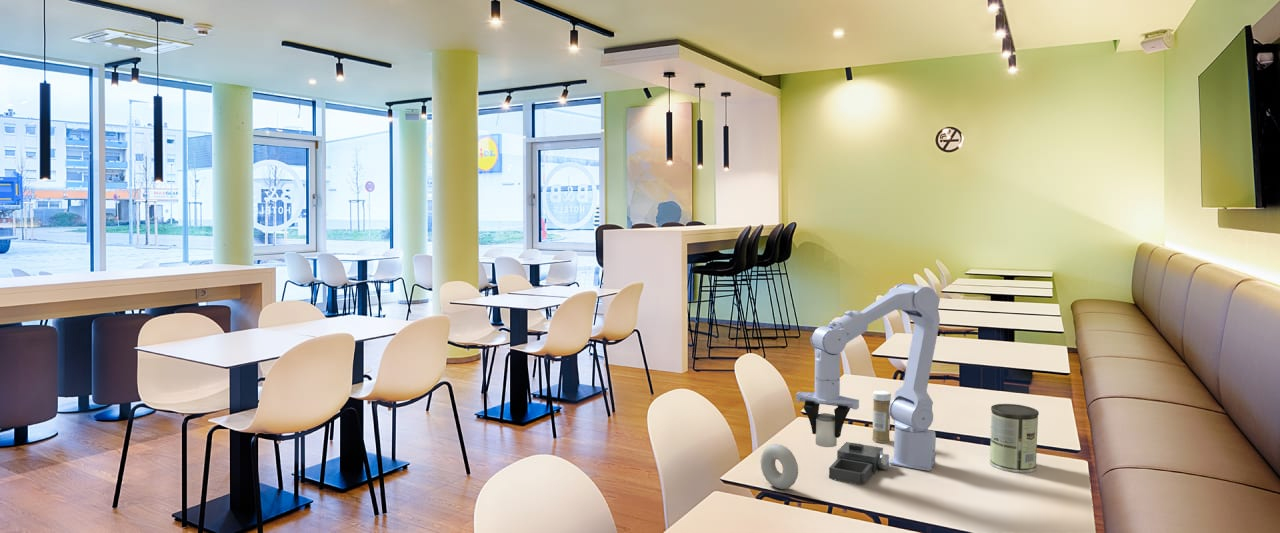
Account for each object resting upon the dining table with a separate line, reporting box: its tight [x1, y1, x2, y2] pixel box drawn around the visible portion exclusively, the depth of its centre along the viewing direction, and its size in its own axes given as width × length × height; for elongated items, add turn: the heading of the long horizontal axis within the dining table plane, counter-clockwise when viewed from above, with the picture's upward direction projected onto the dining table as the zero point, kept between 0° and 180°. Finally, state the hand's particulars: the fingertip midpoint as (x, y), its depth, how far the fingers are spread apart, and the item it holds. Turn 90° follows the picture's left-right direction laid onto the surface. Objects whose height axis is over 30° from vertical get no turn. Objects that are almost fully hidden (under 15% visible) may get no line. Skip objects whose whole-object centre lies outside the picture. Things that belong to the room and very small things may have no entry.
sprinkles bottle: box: [872, 390, 892, 444], centre depth 198 cm, size 5×5×14 cm
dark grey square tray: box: [828, 458, 873, 485], centre depth 173 cm, size 8×9×2 cm
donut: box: [760, 443, 799, 490], centre depth 165 cm, size 10×4×10 cm, turn 38°
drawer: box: [836, 441, 890, 475], centre depth 179 cm, size 11×8×5 cm
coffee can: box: [989, 403, 1040, 474], centre depth 179 cm, size 10×10×14 cm
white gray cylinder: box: [815, 412, 838, 448], centre depth 174 cm, size 5×5×7 cm
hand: (826, 434), depth 174 cm, fingers closed on white gray cylinder, 5 cm apart
